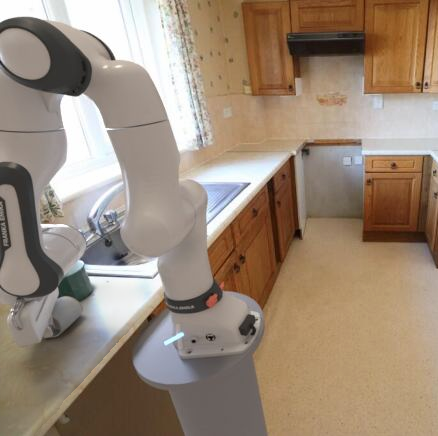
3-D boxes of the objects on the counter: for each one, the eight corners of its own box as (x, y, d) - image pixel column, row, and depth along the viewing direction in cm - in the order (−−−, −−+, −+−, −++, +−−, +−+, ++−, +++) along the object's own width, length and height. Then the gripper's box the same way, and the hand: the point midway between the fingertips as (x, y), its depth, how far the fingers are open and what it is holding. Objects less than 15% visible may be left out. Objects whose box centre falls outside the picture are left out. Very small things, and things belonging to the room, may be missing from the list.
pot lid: (94, 263, 98) (89, 251, 96) (63, 285, 88) (57, 272, 86) (62, 262, 99) (56, 250, 97) (28, 283, 89) (21, 271, 88)
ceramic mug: (89, 315, 88) (78, 292, 85) (66, 337, 81) (53, 313, 78) (52, 316, 89) (40, 293, 86) (26, 338, 81) (12, 314, 78)
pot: (100, 285, 101) (91, 262, 97) (73, 307, 92) (62, 282, 88) (71, 284, 102) (61, 261, 98) (42, 305, 93) (29, 281, 89)
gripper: (29, 309, 64) (57, 358, 70) (52, 261, 81) (73, 305, 87) (-12, 320, 62) (20, 371, 68) (20, 269, 78) (44, 313, 84)
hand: (50, 333), depth 77 cm, fingers closed
